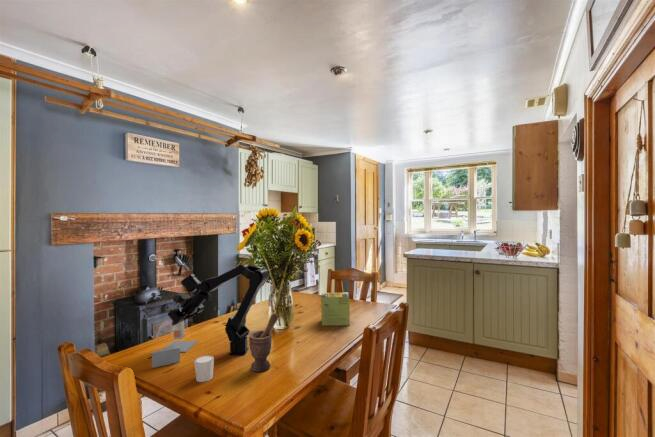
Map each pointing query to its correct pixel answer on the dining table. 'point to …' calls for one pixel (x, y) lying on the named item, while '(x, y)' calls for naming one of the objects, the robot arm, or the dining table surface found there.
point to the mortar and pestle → (262, 346)
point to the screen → (165, 357)
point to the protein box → (335, 308)
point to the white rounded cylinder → (179, 330)
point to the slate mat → (181, 345)
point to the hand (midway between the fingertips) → (176, 323)
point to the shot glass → (204, 368)
